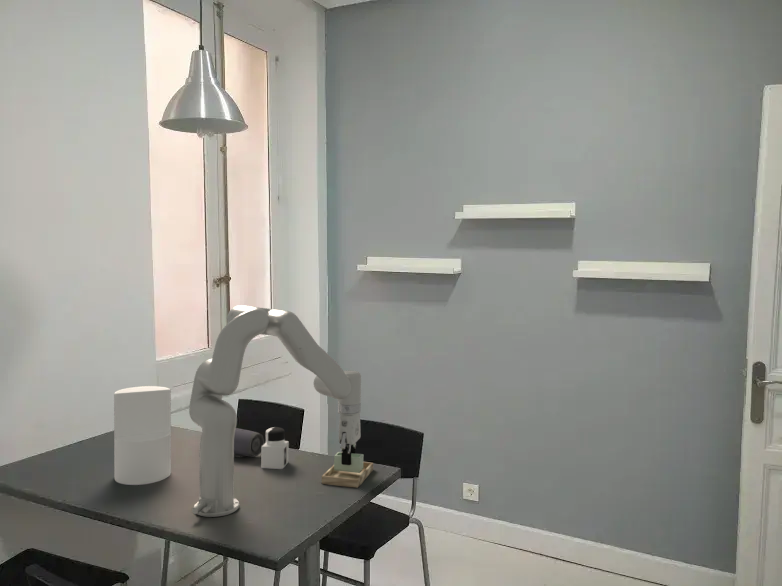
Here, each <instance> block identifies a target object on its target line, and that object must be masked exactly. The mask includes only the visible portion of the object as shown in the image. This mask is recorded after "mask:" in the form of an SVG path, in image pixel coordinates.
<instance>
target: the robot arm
mask: <svg viewBox="0 0 782 586" xmlns="http://www.w3.org/2000/svg"><path fill="white" fill-rule="evenodd" d="M226 321H227V324H226V325H225V326H224V327H223V328H222V329H221V331H220V332H219V334H218V336H217V338H216V340H215V345H214V349H213V353H212V356H211V358H209V359H206V360H204V361H203V362H201V364H200V365H199V366H198V367H197V369H196V371H195V374H194V375H195V376H194V377H193V384H192V390H191V395H190V401H189V406H188V408H189V409H188V411H189V413H188V414H189V417H190V420H191V421H192V422H193V423H194V424H195V425H197V426H198V427H200V428H201V429H202V431H201V435H202V436H201V435H200V440H199V441H200V442H199V450H198V451H199V452H198V455H199V497H198V501H197V502H196V503H195V504H194V505H193V507H192V508H191V513H192V514H194V515H197V516H201V517H207V518H212V517H213V518H217V517H223V516H227V515H230V514H233V513H235V512H236V511H238V509H239V508H240V501H239V500H238V499H237V498H235V497H234V496H235V495H234V494H235V493H234V492H235V489H234V487H235V484H234V483H235V457H234V436H235V430H236V428H237V421H238V416H237V411H236V410H235V408H234V407H233V405H231V404H230V403H229V402H228V401H226V400H224V399H223V396H226V397H227V396H230V395H232V394H233V393H235V391H236V390H237V388H238V387H239V383H240V380H241V379H240V378H241V372H242V368H243V367H242V366H243V361H244V356H245V353H246V349H247V347H248V345H249V343H250V342H251V341H252V340H253V339H255V338H256V337H258V336H259V335H261V336H262V335H264V336H273V337H277V338H278V339H279V341H280V342H281V344H282V345H283V346H284V347H285V348H286V350H287V351H288V353H289V354H290V355H291V357H292V358H293V359H294V360H295V362H297V364H299V365H300V366H302V367H303V368H304V369H306V370H308V371H310V372H311V373H312V374H314V375H315V377H314V379H313V388H314V390H315V391H316V392H318V394H321V395H323V396H326V397H329V398H332V399H333V400H337V413H338V414H339V423H338V443H339V444H340V446H339V447H340V449H341V451H340V452H341V453H342V464H343V465H351V453H354V454H357V453H356V450H357V449H356V448H357V442H358V441H359V440H360V439H361V435H362V434H361V430H362V429H361V413H362V412H361V408H362V407H361V405H362V404H361V403H362V402H361V401H362V400H361V399H362V398H361V397H362V395H361V393H362V375H361V373H360V372H359V371H358V370H357V371H356V370H343V368H342V367H341V365H340V364H338V362H337V361H336V360H335V358H333V357H331V356H330V355H329V353H327V352H326V351H325V350H324V348H322V347H321V346H320V345H319V344H318V343H317V342H316V340H315V339H314V338H313V336H312V335H311V334H310V332H309V331H308V329H307V327H306V326H305V325H304V324H303V322H302V321H301V319H300V318H299V317H298V315H296V313H294V312H292V311H289V310H285V309H277V308H268V307H267V308H266V307H259V306H253V305H245V304H239V305H235V306H234V307H232V308H231V309H230V310H229V311H228V314H227V317H226Z"/></svg>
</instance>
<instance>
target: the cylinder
mask: <svg viewBox="0 0 782 586" xmlns="http://www.w3.org/2000/svg"><path fill="white" fill-rule="evenodd" d="M171 393H172V389H171V388H169V387H166V386H159V385H146V386H145V385H143V386H142V385H141V386H134V387H133V386H132V387H125V388H121V389H118V390H116V391H114V393H113V412H114V414H113V423H114V424H113V427H114V428H113V431H114V432H113V434H114V435H113V436H114V437H113V439H114V440H113V441H114V443H113V445H114V450H113V451H114V455H113V457H114V466H113V468H114V473H113V474H114V477H113V479H114V481H115V482H116V483H118V484H121V485H129V486H138V485H139V486H141V485H149V484H153V483H157V482H160V481H163V480H165V479H167V478H168V477H170V475H171V474H172V468H171V467H172V466H171V465H172V464H171V463H172V461H171V459H172V452H171V451H172V448H171V447H172V445H171V444H172V441H171V439H172V436H171V435H172V433H171V431H172V427H171V426H172V425H171V424H172V417H171V416H172V408H171V405H172V403H171V401H172V399H171V398H172V394H171Z"/></svg>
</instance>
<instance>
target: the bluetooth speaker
mask: <svg viewBox="0 0 782 586" xmlns="http://www.w3.org/2000/svg"><path fill="white" fill-rule="evenodd" d="M201 436H202V434H201V435H200V437H201ZM264 444H265V439H264V436H263V434H262V433H259V432H257V431H252V430H248V429H243V428H238V427H236V430H235V436H234V458H244V457H257V456H259V455H261V447H262V446H263V445H264Z"/></svg>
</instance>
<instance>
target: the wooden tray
mask: <svg viewBox="0 0 782 586" xmlns="http://www.w3.org/2000/svg"><path fill="white" fill-rule="evenodd" d="M373 471H374V462H368V461H363V470H362V471H361V472H360V473H355V472H346V471H336V470H334V464H333V465H331V467H329V469H328V470H326V471H325V472H324V473H323V474H322V475H321V484H322V485H329V486H339V487H347V488H355V489H357V488H358V489H359V487H360V486H361V485H362V484H363V483H365V482H364V481H365V480H366V479H367V478H368V477H369V476H370V474H371V473H372V472H373Z"/></svg>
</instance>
